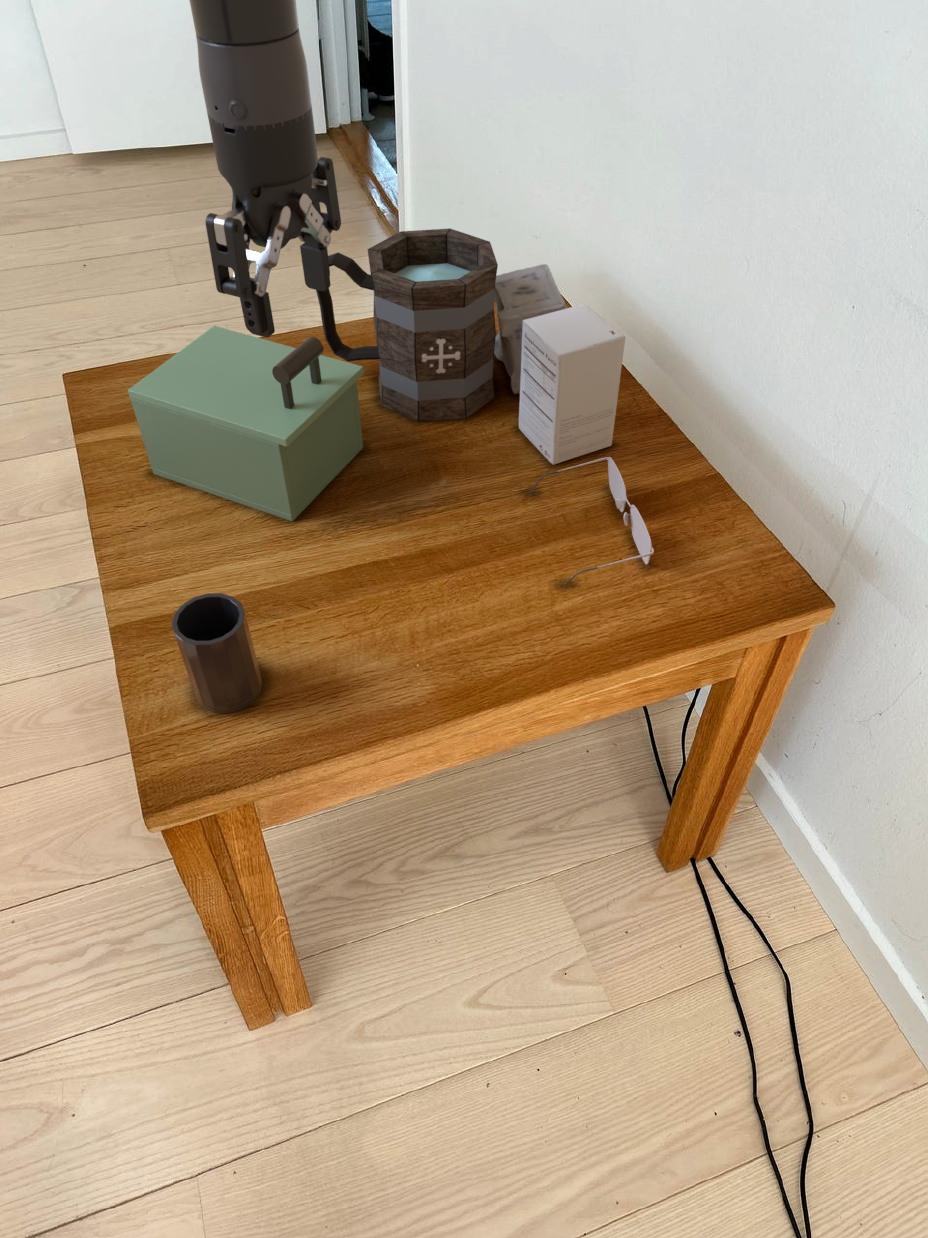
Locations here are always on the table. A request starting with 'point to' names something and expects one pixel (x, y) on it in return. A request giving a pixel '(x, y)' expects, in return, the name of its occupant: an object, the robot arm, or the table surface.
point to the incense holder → (521, 311)
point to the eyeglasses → (620, 498)
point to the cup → (218, 652)
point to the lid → (249, 384)
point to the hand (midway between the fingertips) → (291, 310)
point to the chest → (252, 456)
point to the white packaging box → (569, 382)
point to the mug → (426, 321)
